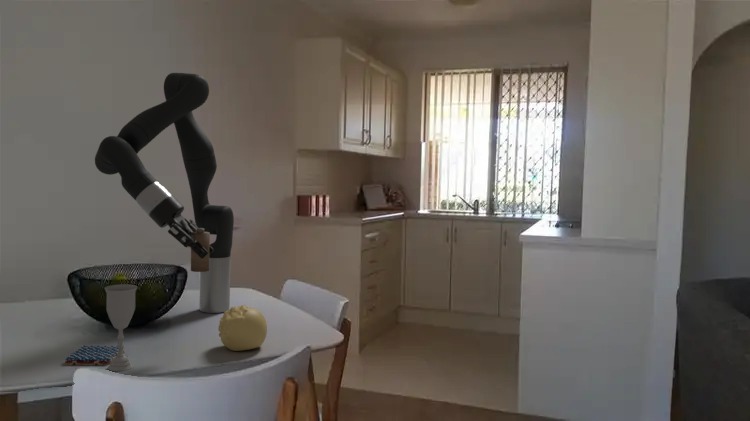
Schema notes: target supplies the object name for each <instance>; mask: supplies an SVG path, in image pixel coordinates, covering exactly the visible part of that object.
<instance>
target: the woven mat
mask: <svg viewBox="0 0 750 421" xmlns="http://www.w3.org/2000/svg"><path fill="white" fill-rule="evenodd" d="M125 352H126V351H125V350H124V349H123V354H124V353H125ZM117 354H118V347H116V346H114V345H111V346H107V345H104V346H100V345H97V346H93V345H90V346H86V345H83V346H80V347H79V349H76V351H73V352H72V353H70V355H68V356H67V357H65V361H64V362H65V363H64V365H65V366H69V365H70V366H71V365H72V366H73V365H74V366H75V365H76V366H85V365H86V366H97V365H98V366H110V363H111V361H112V359H113V357H115V356H117Z"/></svg>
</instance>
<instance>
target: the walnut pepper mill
mask: <svg viewBox="0 0 750 421" xmlns="http://www.w3.org/2000/svg"><path fill="white" fill-rule="evenodd" d="M193 235H194V237H195V238H196V239H197V241H198V242H199V243H200V244H201V245H202V246H203V247H204V248H205V249H206V250H207V251H208V254H207V255H206V256H205V257H204V258H200V257H199V256H198V255H197V254H196V253H195V252H194V251H193V249H192V248H190V271H191V272H193V273H200V272H206V271H209V245H210V244H211V243H210V241H211V240H210V237H211V236H210V235H211V234H210V232H204V228H197V232H194V234H193ZM198 242H197V243H198Z"/></svg>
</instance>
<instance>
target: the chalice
mask: <svg viewBox="0 0 750 421" xmlns="http://www.w3.org/2000/svg"><path fill="white" fill-rule="evenodd" d="M137 289H138V286H137V285H135V284H130V283H129V284H127V283H124V284H123V283H121V284H111V285H108V286H107V285H106V286H105V287H104V290H105V292H106V309H105V310H106V313H107V315H108V319H109V320H110V322H111V325H112V327H113V328H114V329H116V330H117V332H118V334H117V337H116V339H117V341H118V342H117V343H118V344H116V346H115V347H116V348H117V347H118V354H117V356H115V357H113V359H112V361H111V363H109V364H110V365H108V367H107V369H108V370H109V371H112V372H123V371H127V370H130V369H132V368H133V365H132V362H131V360H130V357H129V356H128V355H125V354H124V353H123V350H124V347H125V346H126V345H125V343H124V342H123V341H124V339H125V336H124V329H126V328H128V326H129V324H130V323H131V319H132V318H133V315H134V313H135V310H136V291H137Z"/></svg>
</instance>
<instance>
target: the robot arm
mask: <svg viewBox="0 0 750 421" xmlns="http://www.w3.org/2000/svg"><path fill="white" fill-rule="evenodd" d="M163 93H164V94H163V95H164V97H165V101H163V102H161V103H159V104H157V105H154V106H152V107H149V108H147V109H145V110H143V111H142V112H140V113H138V114H137V115H136V116H134V117H133V118H132V119H131V120H130V121H128V122H126V124H125V125H124V126H123V127H122V128H121V129H120V131H119V133H118V134H117V135H110V136H107V137H105V138H103V139H102V140H101V142H100V144H99V146H98V148H97V151H96V153H95V157H94V164H95V167H96V168H97V170H98V171H99V172H100V173H102V174H105V175H108V176H110V175H116V174H119V176H120V177H121V180H120V182H121V185H122V188H123V189H124V190H125V191H126V192H127V193H128V194H129V195H130V197H131V198H132V199H133V200H135V201H136V203H137V204H138V205H139V207H140V209H141V210H143V212H145V214H146V215H147V216H149V218H150V219H152V221H154V222H153V223H155V224H156V225H157V226H158V227H159V228H161V229H163V228H165V227H167V226H168V227H169V229H168V231H167V233H168V234H170V235H171V237H173V238H174V239H175V240H177V241H178V243H180V244H181V245H182V246H183V247H185V248H189V249H191V248H192V249H193V251H194V252H195V253H196V254H197V255H198V256H199V257H200V258H204V257H205V256H206V255H207V254H208V251H207V250H206V249H205V248H204V247H203V246H202V245H201V244H200V243H199V242H198V241H197V239H196V238H195V237H194V235H193V234H194V232H197V228H204V232H210V235H215V236H216V237H215V240H214V242H212V243H210V245H209V271H206V272H199V311H200V312H202V313H207V314H210V313H211V314H217V313H218V314H219V313H224V312H225V311H228V310H230V300H231V298H230V296H231V256H232V255H231V254H232V253H231V252H232V246H233V234H234V224H235V223H234V220H235V218H234V212H233V209H232V208H231V207H230V206H228V205H227V206H226V205H215V204H214V205H213V204H212V205H211V204H210V202H209V196H208V192H209V188H210V186H211V183H212V181H213V180H214V177H215V174H216V173H217V172H216V171H217V167H218V165H217V159H216V155H215V149H214V146H213V144H212V142H211V140H210V139H209V136H207V135H206V133H205V132H204V131H203V129H202V128H201V126H200V125H199V124H198V122H197V120H196V119H195V117H194V114H193V111H195V110H196V109H198V108H200V107H201V106H203V104H205V103H206V101H207V100H208V97H209V94H210V87H209V83H208V80H206V78H205V77H203V76H202V75H201V74H196V73H189V72H188V73H186V72H170V73H169V74H167V76H165V79H164V82H163ZM173 124H174V127H175V131H176V134H177V138H178V143H179V146H180V152H181V156H182V160H183V164H184V169H185V173H186V176H187V180H188V185H189V189H190V194H191V201H192V208H193V216H194V221H193V219H189V218H187V217H185V216H184V215H182V213H183V211H185V207H184V205H182V203H181V202H180V201H179V200H178V199H177V198H176V197H175V196H174V195H173V194H172V193H171V192H170V191H169V190H168V189H167V187H165V186H164V185H162V184H161V183H160V182H159V181H158V180H157V179H156V178H155V177H154V176H153V175H152V173H150V172H149V171H148V170H147V169H146V168H145V165H144V163H143V162H142V160H141V159H140V157H139V155H138V153H139V152H140V151H141V150H143V148H145V147H146V146H147V145H149V143H151V142H152V141H153V140H154V139H155V138H156V137H157V136H159V135H160V134H161V133H162V132H163V131H164V130H166V129H167V128H168V127H169V126H171V125H173ZM197 242H198V243H197Z"/></svg>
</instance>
